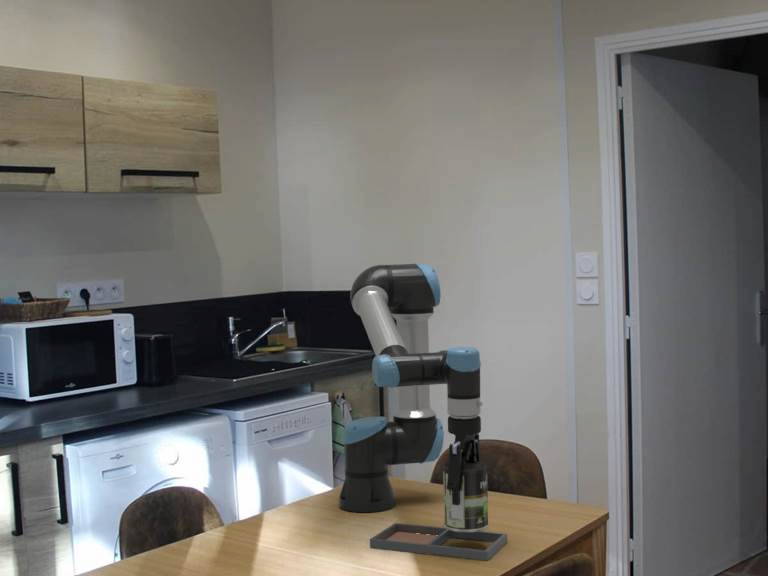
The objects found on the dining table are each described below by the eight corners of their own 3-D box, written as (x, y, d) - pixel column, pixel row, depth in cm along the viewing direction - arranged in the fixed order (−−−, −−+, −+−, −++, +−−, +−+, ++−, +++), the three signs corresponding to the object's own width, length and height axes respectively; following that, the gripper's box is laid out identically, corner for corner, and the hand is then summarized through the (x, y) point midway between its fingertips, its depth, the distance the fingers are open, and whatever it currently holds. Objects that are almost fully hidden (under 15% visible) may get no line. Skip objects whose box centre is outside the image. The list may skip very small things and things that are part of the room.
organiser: (395, 530, 240) (395, 522, 240) (507, 542, 228) (507, 533, 228) (370, 547, 226) (369, 539, 226) (487, 560, 215) (487, 551, 215)
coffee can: (490, 520, 229) (489, 460, 228) (486, 533, 219) (485, 471, 218) (446, 518, 231) (445, 459, 230) (440, 531, 221) (439, 470, 220)
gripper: (463, 425, 212) (464, 527, 213) (495, 407, 232) (496, 500, 233) (430, 423, 215) (432, 523, 216) (465, 406, 235) (466, 497, 237)
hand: (465, 511), depth 225 cm, fingers closed on coffee can, 10 cm apart
